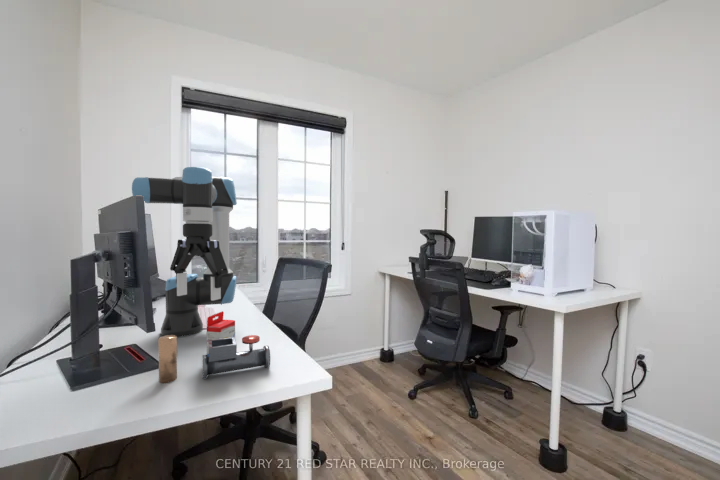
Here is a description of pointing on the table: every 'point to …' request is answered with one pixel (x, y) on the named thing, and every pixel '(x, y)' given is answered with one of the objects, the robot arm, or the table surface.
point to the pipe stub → (167, 358)
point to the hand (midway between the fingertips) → (198, 297)
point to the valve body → (234, 356)
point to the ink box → (219, 328)
